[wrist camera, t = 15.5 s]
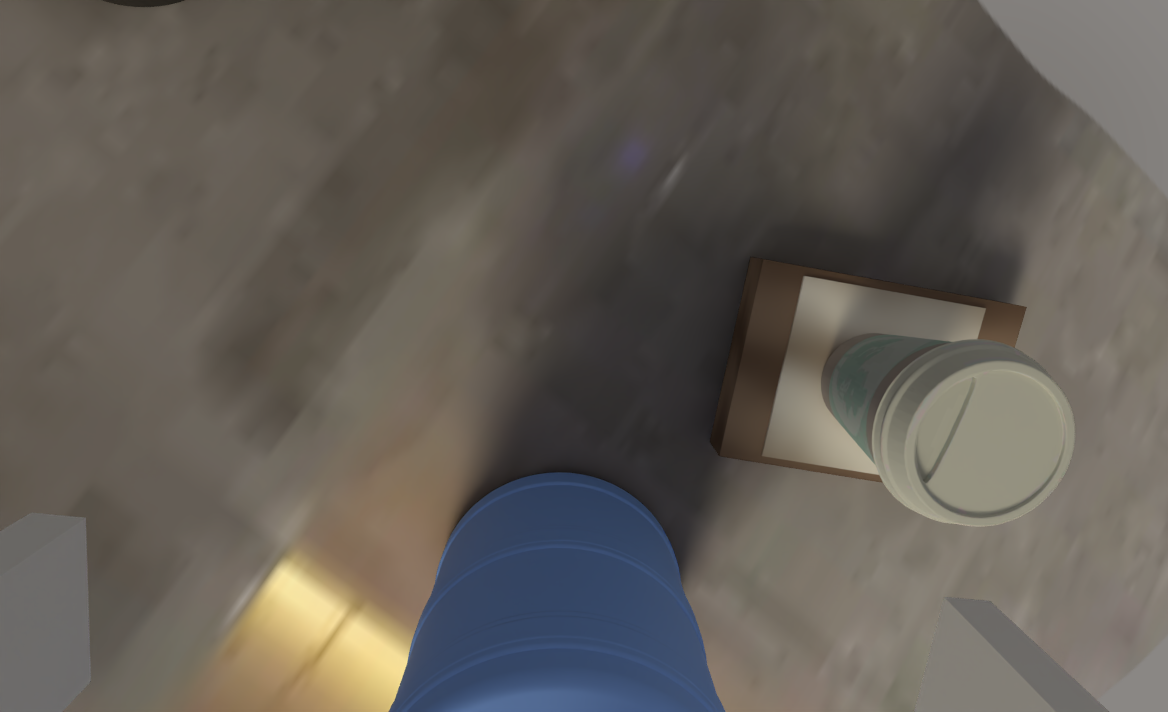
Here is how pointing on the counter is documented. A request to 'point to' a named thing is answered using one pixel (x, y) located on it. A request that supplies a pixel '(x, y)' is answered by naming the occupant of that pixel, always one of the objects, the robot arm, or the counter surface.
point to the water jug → (557, 609)
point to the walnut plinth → (824, 357)
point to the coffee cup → (953, 423)
